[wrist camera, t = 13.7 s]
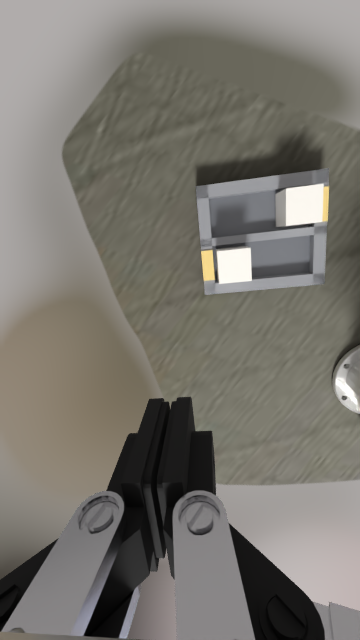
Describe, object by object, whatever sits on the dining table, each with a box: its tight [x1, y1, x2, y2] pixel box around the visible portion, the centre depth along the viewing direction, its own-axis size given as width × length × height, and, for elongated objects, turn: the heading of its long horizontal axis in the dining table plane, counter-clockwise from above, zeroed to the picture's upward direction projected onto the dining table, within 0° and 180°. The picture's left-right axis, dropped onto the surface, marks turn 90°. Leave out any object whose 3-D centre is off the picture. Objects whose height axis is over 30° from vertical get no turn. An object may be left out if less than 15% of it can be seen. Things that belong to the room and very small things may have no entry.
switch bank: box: [196, 168, 329, 295], centre depth 37 cm, size 14×16×3 cm
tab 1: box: [216, 246, 252, 284], centre depth 36 cm, size 4×4×5 cm
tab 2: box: [275, 184, 324, 227], centre depth 34 cm, size 4×4×5 cm
